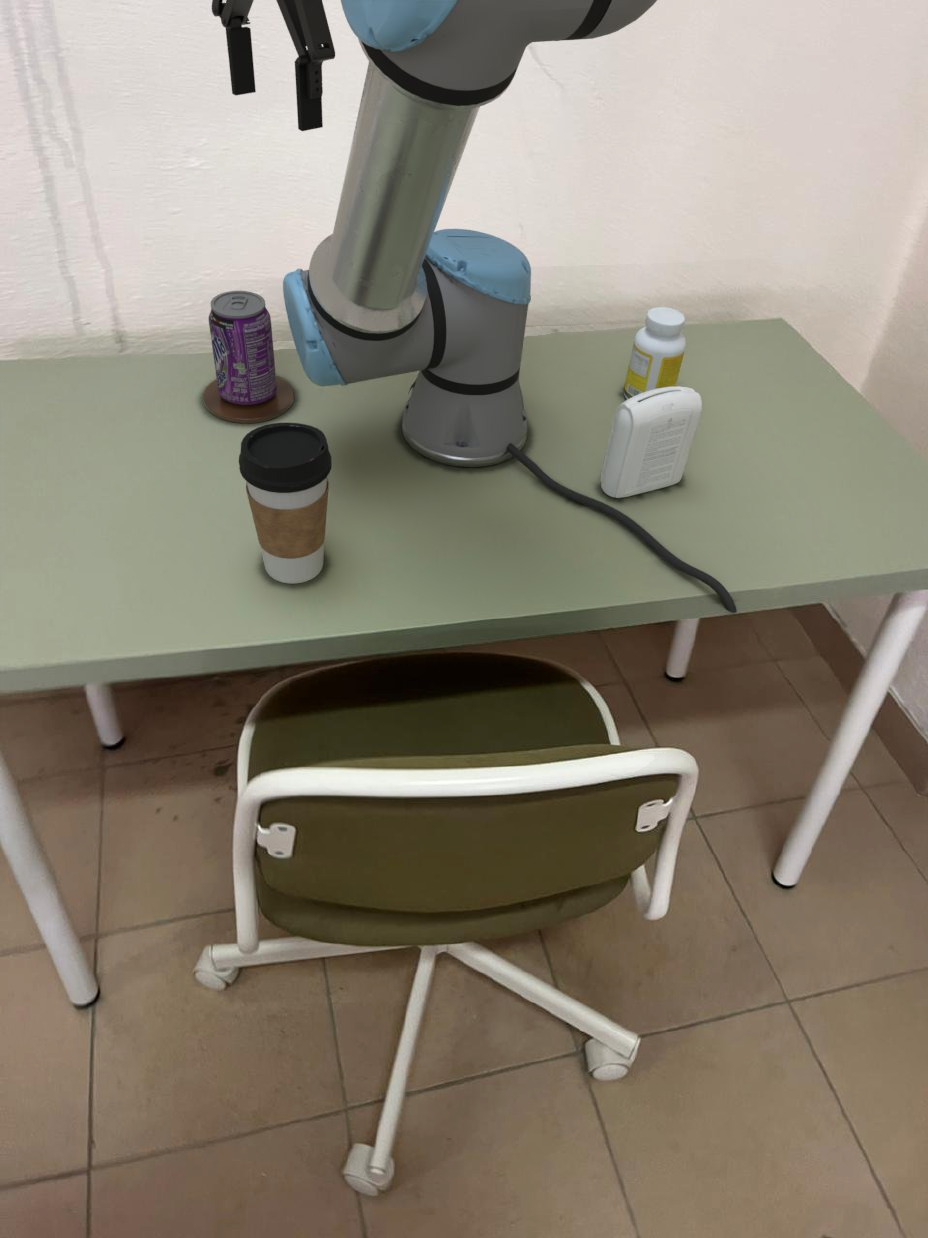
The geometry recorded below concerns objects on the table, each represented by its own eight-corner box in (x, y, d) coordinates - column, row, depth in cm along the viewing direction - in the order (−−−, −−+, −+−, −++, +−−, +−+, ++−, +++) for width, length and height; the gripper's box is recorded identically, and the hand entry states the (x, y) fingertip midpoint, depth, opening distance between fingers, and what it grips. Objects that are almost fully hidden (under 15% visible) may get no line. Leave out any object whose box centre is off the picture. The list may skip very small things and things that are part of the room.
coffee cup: (321, 599, 90) (314, 476, 79) (239, 583, 90) (221, 459, 80) (346, 545, 95) (342, 424, 85) (268, 531, 96) (256, 408, 86)
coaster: (310, 404, 114) (310, 400, 113) (233, 433, 108) (232, 429, 108) (263, 366, 119) (262, 362, 119) (187, 392, 114) (186, 387, 113)
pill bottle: (678, 396, 121) (701, 314, 113) (659, 417, 117) (680, 334, 109) (634, 379, 123) (653, 298, 115) (614, 399, 119) (631, 316, 111)
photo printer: (664, 463, 110) (690, 372, 101) (685, 484, 107) (713, 392, 99) (593, 482, 106) (613, 389, 97) (613, 504, 104) (635, 410, 95)
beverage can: (222, 378, 115) (209, 287, 107) (278, 379, 116) (271, 289, 107) (216, 409, 110) (202, 316, 102) (275, 410, 111) (267, 318, 103)
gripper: (160, -150, 93) (190, 83, 108) (300, -106, 80) (311, 150, 96) (225, -151, 96) (245, 75, 112) (368, -109, 84) (369, 138, 99)
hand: (276, 110), depth 104 cm, fingers open, 13 cm apart
